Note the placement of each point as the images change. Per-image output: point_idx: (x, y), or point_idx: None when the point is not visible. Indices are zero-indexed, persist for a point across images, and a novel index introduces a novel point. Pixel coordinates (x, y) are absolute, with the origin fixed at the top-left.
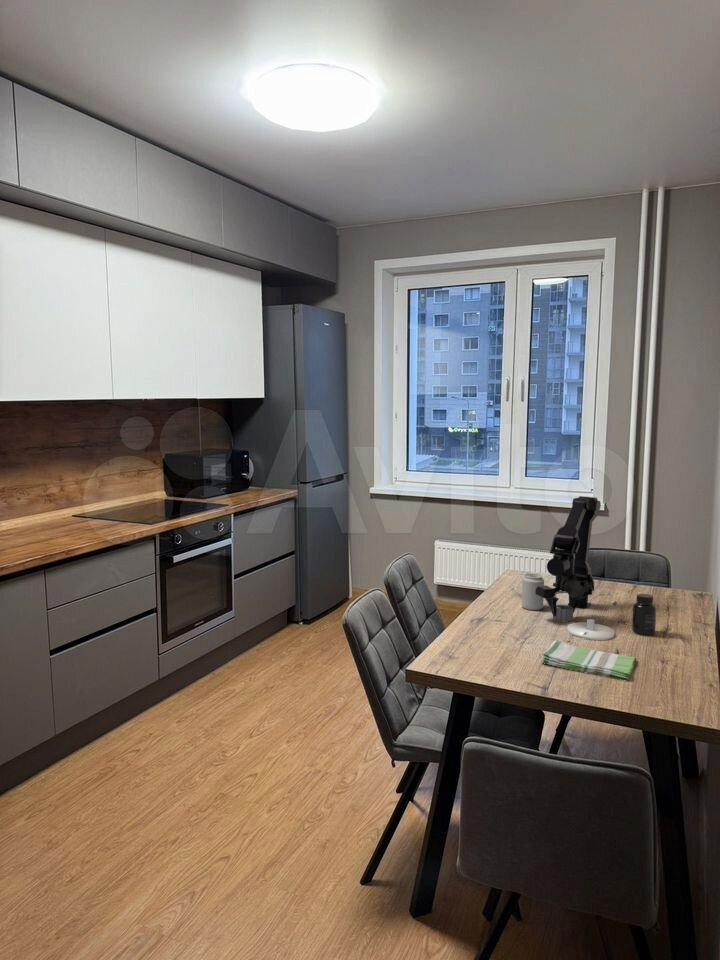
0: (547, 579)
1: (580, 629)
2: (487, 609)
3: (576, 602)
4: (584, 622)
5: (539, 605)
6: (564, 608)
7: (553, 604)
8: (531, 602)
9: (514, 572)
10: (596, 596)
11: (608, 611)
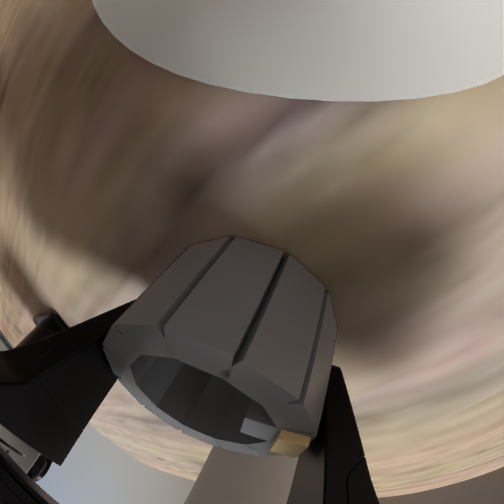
0: (98, 427)
1: None
2: (425, 482)
3: (40, 357)
4: (169, 66)
5: (259, 458)
6: (170, 383)
7: (371, 499)
8: None
9: (142, 462)
10: (25, 333)
11: (2, 236)
